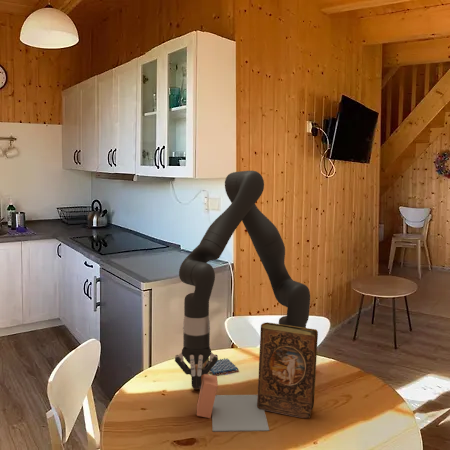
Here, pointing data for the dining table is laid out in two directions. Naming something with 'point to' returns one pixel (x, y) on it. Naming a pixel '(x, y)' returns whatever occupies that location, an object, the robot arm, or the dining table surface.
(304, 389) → the book
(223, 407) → the slate pad
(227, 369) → the woven mat
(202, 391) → the terracotta block
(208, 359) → the tin
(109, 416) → the dining table surface
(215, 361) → the robot arm
